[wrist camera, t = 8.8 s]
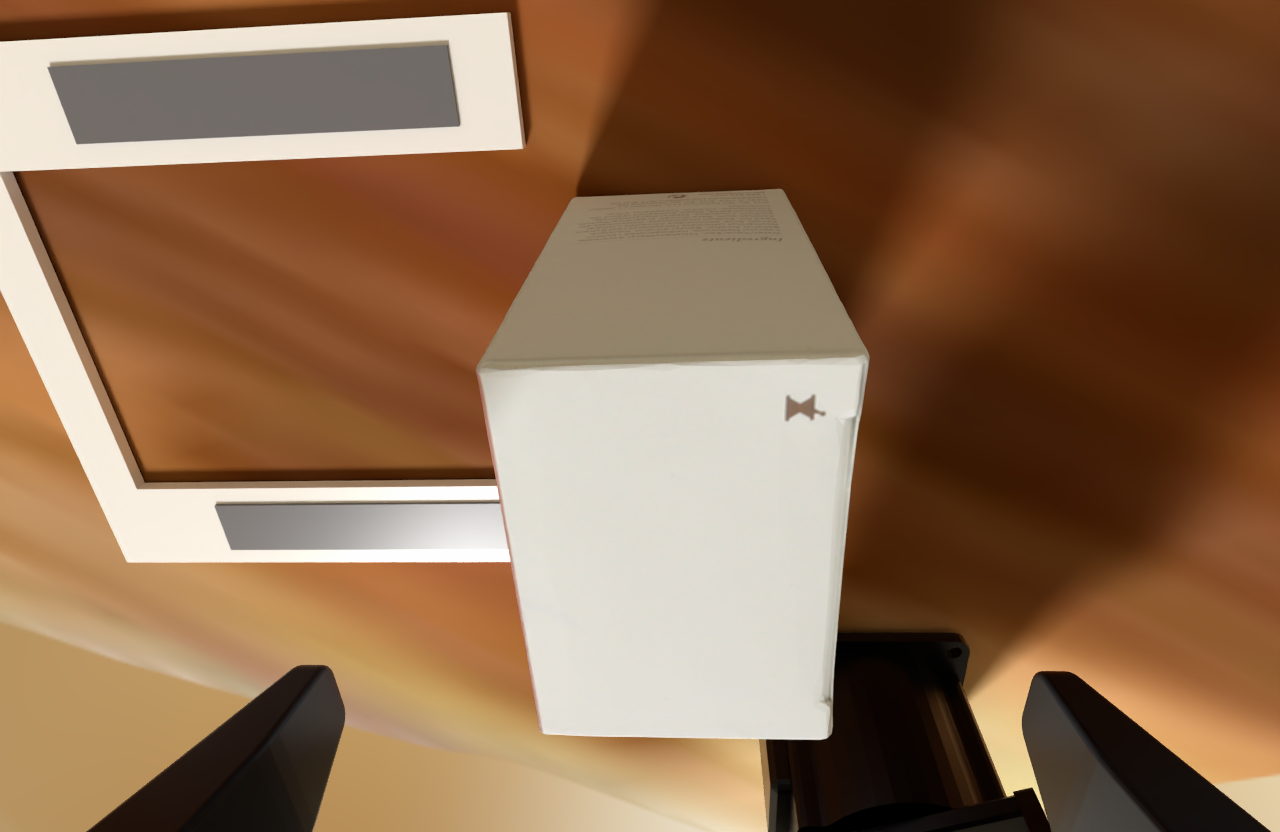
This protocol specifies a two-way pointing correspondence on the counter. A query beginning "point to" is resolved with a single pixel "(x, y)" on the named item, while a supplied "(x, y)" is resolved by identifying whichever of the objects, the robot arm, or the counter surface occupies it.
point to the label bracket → (246, 131)
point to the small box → (677, 467)
